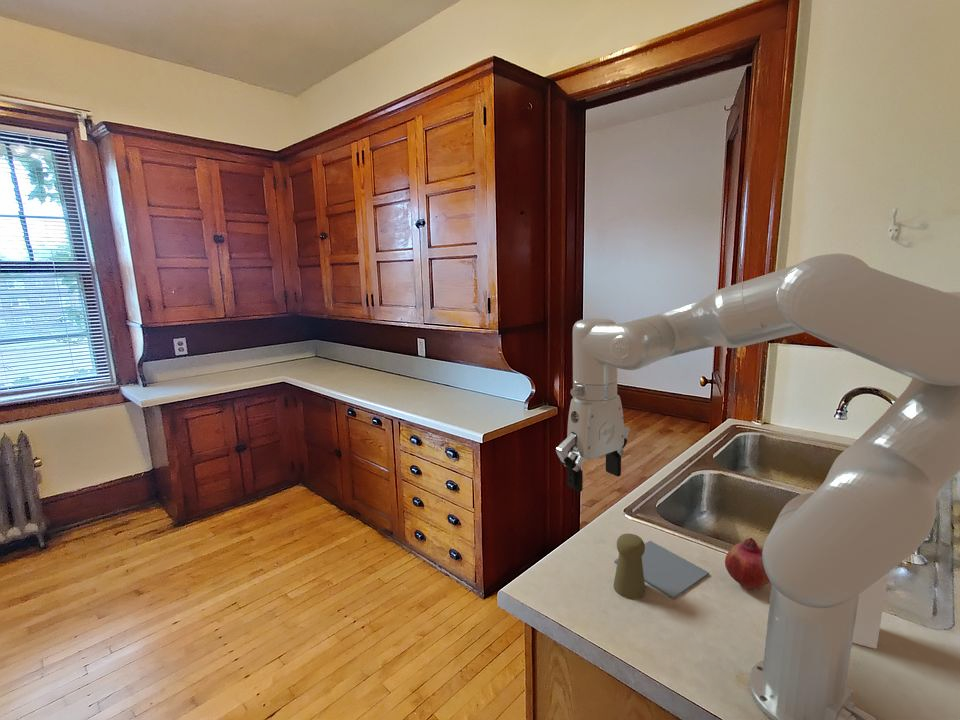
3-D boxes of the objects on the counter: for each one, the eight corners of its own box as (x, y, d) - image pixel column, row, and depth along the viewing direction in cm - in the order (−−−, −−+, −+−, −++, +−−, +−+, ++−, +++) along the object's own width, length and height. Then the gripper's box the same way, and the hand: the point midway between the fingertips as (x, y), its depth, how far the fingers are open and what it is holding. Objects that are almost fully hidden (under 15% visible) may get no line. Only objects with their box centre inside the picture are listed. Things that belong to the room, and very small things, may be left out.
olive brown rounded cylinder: (641, 578, 95) (643, 529, 92) (649, 599, 89) (651, 547, 87) (610, 577, 95) (612, 528, 93) (616, 598, 89) (617, 546, 87)
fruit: (780, 590, 90) (785, 543, 88) (752, 604, 87) (757, 556, 84) (741, 567, 97) (745, 523, 95) (714, 579, 94) (718, 534, 92)
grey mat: (709, 574, 95) (709, 572, 95) (673, 599, 89) (673, 597, 88) (650, 542, 106) (650, 540, 106) (614, 562, 100) (614, 560, 100)
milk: (831, 638, 78) (846, 518, 74) (824, 613, 84) (837, 500, 79) (877, 649, 76) (896, 526, 71) (867, 623, 81) (883, 507, 77)
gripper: (573, 404, 74) (574, 503, 78) (645, 385, 83) (643, 475, 87) (542, 394, 80) (544, 487, 84) (612, 378, 89) (611, 462, 93)
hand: (594, 481), depth 85 cm, fingers open, 9 cm apart
